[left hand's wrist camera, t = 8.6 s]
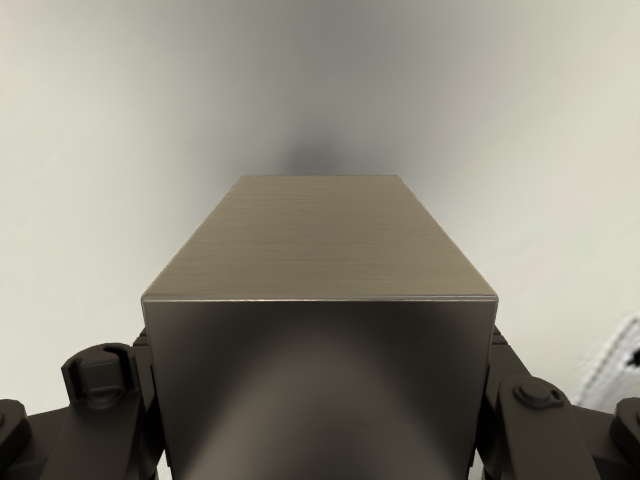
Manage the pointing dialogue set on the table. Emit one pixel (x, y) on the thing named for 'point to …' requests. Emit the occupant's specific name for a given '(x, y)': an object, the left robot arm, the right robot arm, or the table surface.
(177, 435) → the bar
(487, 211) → the table surface
